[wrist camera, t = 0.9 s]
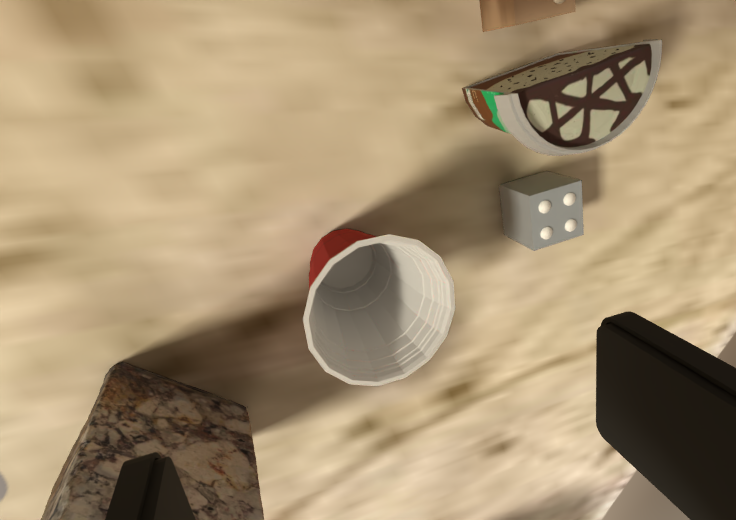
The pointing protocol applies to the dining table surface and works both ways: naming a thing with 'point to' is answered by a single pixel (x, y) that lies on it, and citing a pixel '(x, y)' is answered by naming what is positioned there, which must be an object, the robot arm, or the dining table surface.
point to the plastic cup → (376, 306)
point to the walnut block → (520, 11)
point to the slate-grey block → (542, 209)
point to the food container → (570, 97)
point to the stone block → (160, 448)
